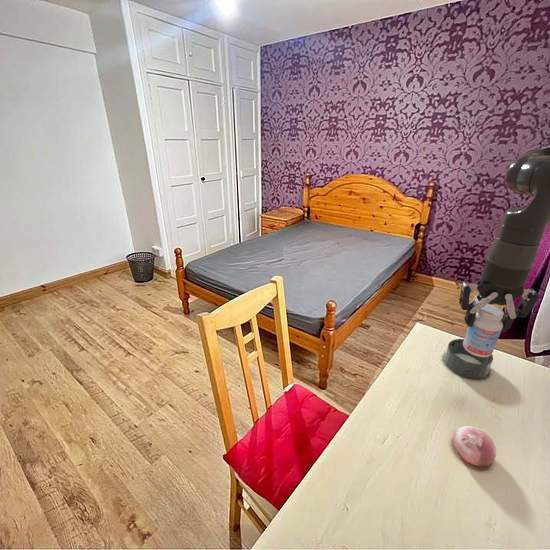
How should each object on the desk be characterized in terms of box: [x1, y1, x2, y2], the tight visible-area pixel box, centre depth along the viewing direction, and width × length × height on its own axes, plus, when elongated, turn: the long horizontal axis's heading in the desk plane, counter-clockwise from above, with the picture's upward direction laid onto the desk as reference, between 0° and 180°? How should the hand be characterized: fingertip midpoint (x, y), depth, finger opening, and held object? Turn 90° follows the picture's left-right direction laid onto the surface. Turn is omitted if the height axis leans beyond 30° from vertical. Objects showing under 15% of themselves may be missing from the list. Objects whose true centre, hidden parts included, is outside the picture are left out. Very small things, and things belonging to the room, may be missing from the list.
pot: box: [444, 338, 494, 380], centre depth 90 cm, size 11×11×6 cm
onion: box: [452, 425, 497, 467], centre depth 66 cm, size 8×8×7 cm
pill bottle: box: [463, 304, 505, 357], centre depth 70 cm, size 6×6×11 cm
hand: (485, 326), depth 70 cm, fingers closed on pill bottle, 6 cm apart
